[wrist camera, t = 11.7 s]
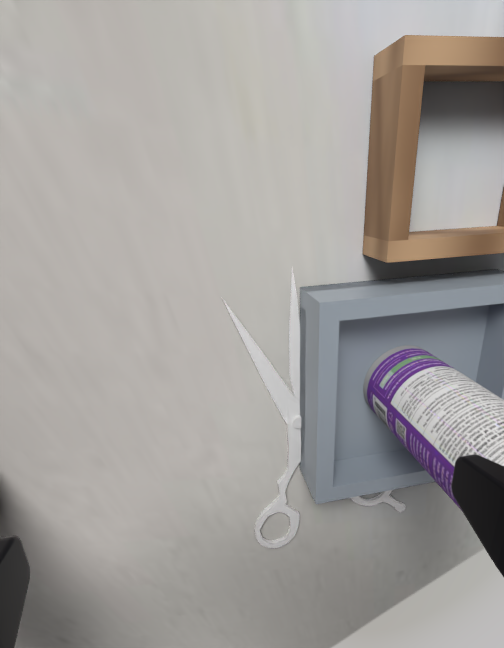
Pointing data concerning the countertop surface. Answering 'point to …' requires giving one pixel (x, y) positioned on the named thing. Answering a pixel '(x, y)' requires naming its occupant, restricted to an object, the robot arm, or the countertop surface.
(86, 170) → the countertop surface
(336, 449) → the tray
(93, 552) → the countertop surface
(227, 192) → the countertop surface
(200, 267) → the countertop surface
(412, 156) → the holder
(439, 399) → the container
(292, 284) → the scissors
